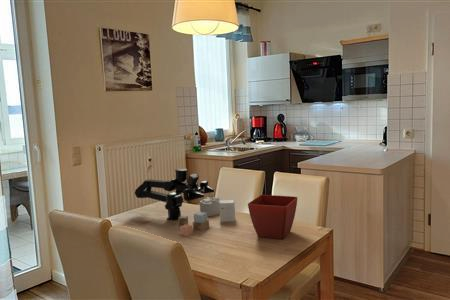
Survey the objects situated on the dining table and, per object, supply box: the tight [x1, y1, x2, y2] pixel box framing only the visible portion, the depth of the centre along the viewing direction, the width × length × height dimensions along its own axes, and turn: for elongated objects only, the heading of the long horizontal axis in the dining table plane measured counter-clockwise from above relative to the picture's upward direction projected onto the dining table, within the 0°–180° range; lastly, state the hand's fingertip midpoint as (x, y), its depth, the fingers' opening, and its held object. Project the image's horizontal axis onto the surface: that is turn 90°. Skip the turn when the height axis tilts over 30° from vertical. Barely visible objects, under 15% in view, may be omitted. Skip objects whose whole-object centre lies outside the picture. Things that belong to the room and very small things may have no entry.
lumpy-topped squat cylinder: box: [199, 196, 223, 217], centre depth 231 cm, size 10×13×9 cm
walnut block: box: [177, 215, 189, 226], centre depth 213 cm, size 4×4×4 cm
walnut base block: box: [192, 219, 210, 232], centre depth 204 cm, size 6×6×4 cm
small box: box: [219, 199, 236, 223], centre depth 215 cm, size 8×6×10 cm
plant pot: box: [247, 194, 298, 240], centre depth 190 cm, size 19×19×17 cm
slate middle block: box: [193, 211, 208, 223], centre depth 204 cm, size 5×5×4 cm
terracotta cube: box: [179, 224, 194, 237], centre depth 197 cm, size 4×4×4 cm
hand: (209, 193), depth 208 cm, fingers open, 9 cm apart
